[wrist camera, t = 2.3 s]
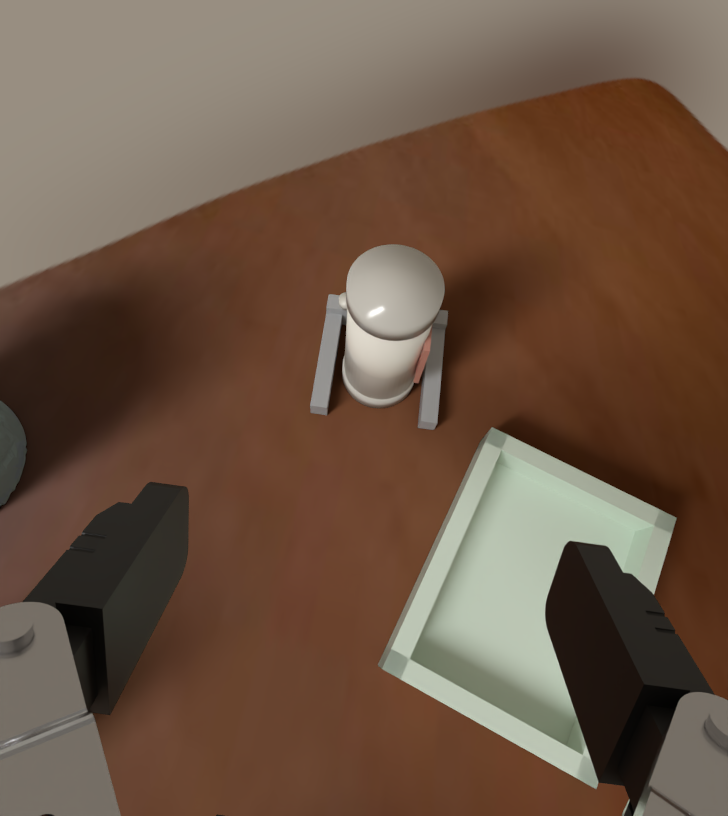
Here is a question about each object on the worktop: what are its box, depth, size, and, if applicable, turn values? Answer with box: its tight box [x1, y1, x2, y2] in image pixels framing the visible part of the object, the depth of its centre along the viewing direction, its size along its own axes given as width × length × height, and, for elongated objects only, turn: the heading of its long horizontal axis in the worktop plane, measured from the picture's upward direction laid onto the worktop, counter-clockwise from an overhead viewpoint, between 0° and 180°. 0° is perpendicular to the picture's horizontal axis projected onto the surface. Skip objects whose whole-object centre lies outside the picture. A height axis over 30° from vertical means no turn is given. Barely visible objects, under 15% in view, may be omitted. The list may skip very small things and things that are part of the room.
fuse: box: [342, 244, 445, 408], centre depth 31 cm, size 5×5×10 cm
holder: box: [310, 292, 448, 430], centre depth 35 cm, size 7×8×2 cm
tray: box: [378, 427, 677, 789], centre depth 30 cm, size 14×11×3 cm
